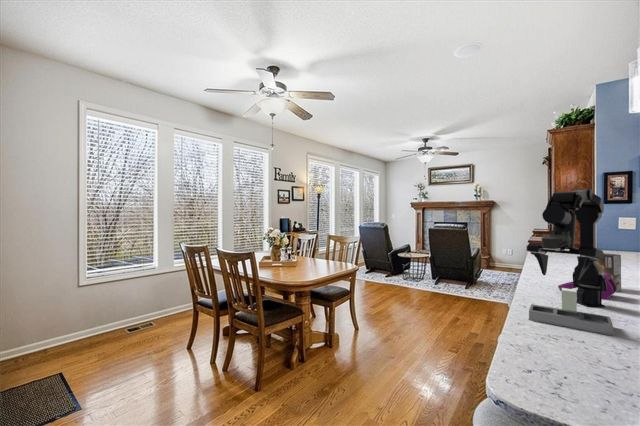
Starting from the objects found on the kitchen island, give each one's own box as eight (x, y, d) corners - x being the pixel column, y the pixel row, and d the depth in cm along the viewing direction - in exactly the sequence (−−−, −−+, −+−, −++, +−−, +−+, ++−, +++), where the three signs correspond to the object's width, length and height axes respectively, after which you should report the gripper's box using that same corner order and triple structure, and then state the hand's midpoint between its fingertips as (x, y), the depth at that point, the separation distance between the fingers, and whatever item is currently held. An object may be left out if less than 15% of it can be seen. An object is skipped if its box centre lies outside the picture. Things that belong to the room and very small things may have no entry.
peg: (561, 309, 108) (561, 287, 108) (576, 311, 106) (576, 289, 105) (561, 312, 105) (561, 290, 105) (576, 314, 102) (576, 292, 102)
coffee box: (622, 290, 131) (622, 254, 131) (614, 292, 129) (614, 255, 129) (596, 285, 140) (596, 252, 140) (588, 287, 138) (588, 252, 137)
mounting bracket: (565, 306, 129) (616, 296, 116) (554, 287, 132) (604, 276, 119) (571, 302, 135) (621, 292, 122) (561, 283, 138) (609, 272, 125)
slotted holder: (609, 326, 92) (609, 316, 92) (613, 335, 86) (613, 325, 85) (531, 312, 105) (531, 304, 105) (528, 319, 98) (528, 310, 98)
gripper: (519, 224, 101) (515, 270, 99) (588, 225, 84) (584, 280, 82) (537, 230, 106) (533, 273, 104) (605, 231, 89) (602, 283, 87)
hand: (560, 277), depth 94 cm, fingers open, 9 cm apart
